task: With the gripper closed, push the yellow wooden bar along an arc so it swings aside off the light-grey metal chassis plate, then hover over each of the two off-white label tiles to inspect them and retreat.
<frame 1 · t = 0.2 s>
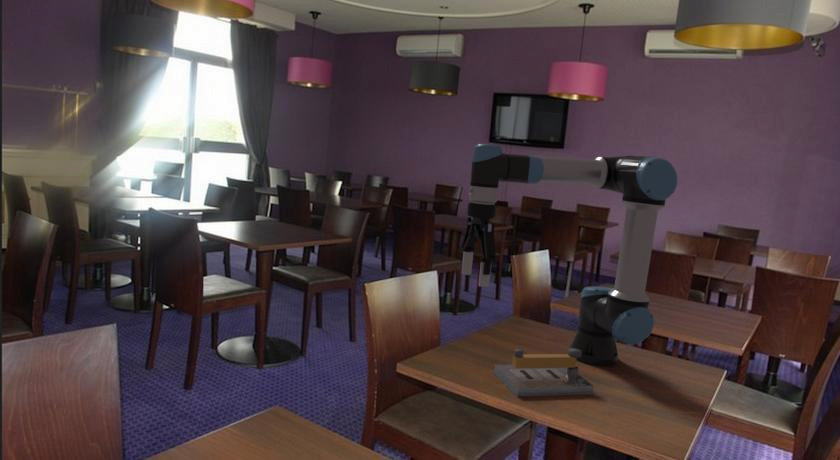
hand: (474, 280, 163), 27 cm above the table, fingers open, 13 cm apart
chassis: (541, 383, 166), on the table
yellow wooden bar: (547, 358, 165), point 7 cm above the table, hinge at 0.0°
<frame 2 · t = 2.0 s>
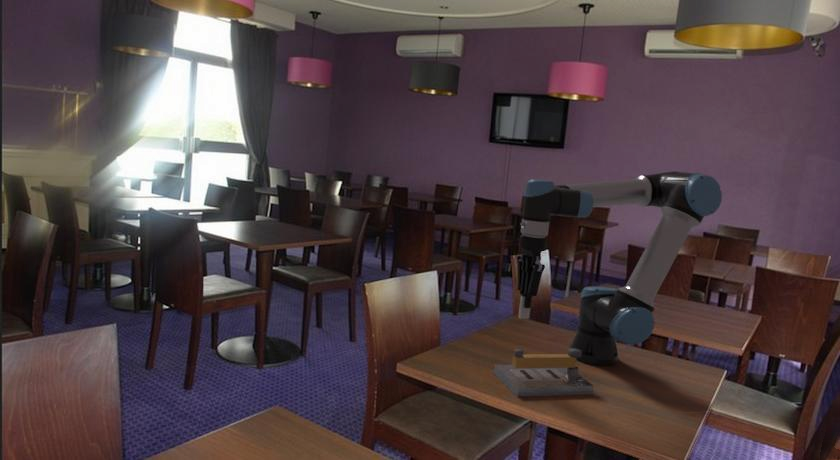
hand: (523, 318, 169), 17 cm above the table, fingers closed
nothing on the table moved.
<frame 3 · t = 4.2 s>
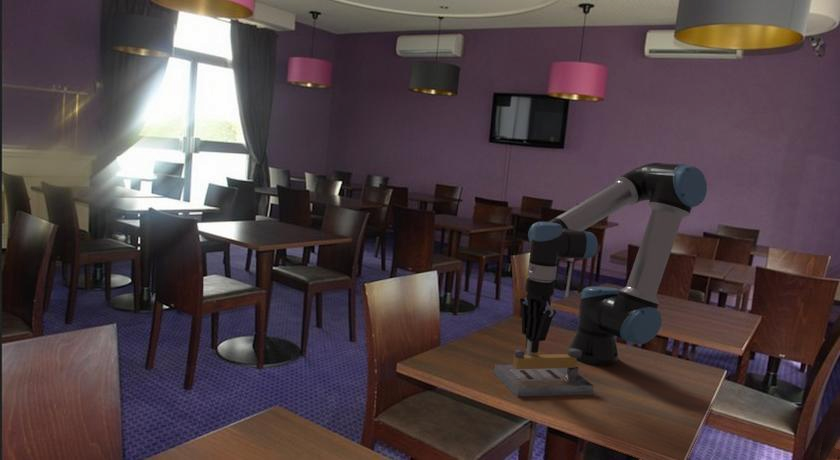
hand: (530, 362, 166), 6 cm above the table, fingers closed
yellow wooden bar: (547, 358, 165), point 7 cm above the table, hinge at 1.8°, touching gripper
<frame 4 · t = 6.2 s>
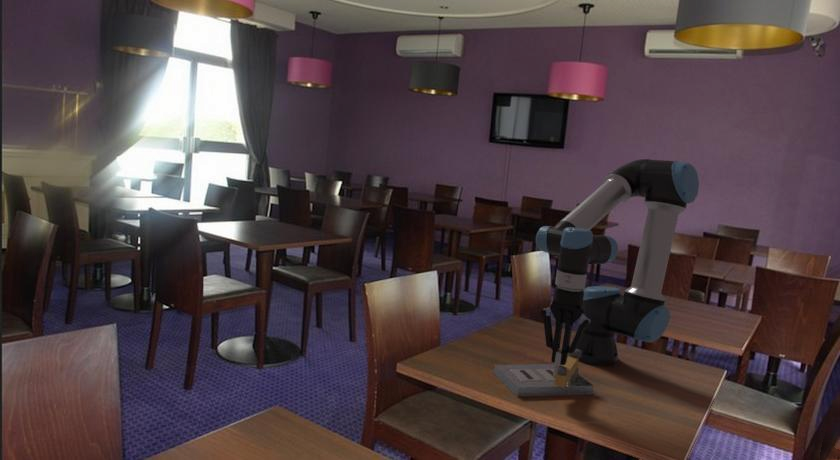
hand: (556, 375, 157), 6 cm above the table, fingers closed
yellow wooden bar: (568, 366, 160), point 7 cm above the table, hinge at 49.6°, touching gripper
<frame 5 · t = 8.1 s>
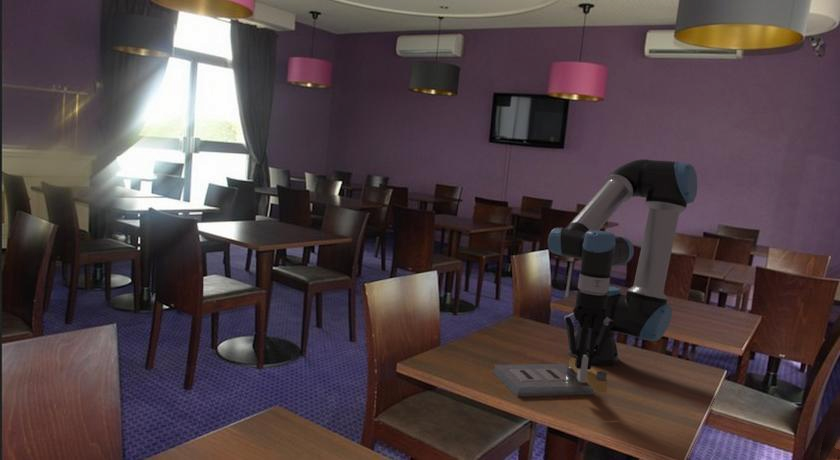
hand: (581, 380, 155), 6 cm above the table, fingers closed
yellow wooden bar: (586, 368, 159), point 7 cm above the table, hinge at 83.0°
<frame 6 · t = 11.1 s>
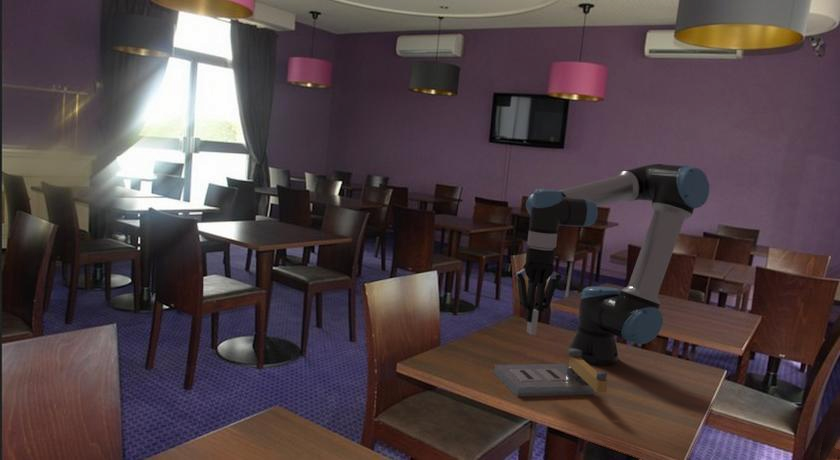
hand: (531, 333, 162), 14 cm above the table, fingers closed
nothing on the table moved.
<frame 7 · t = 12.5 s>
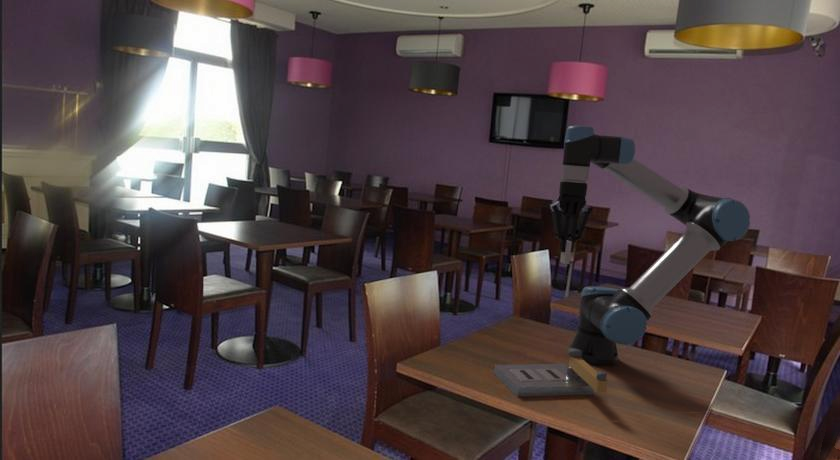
hand: (564, 263, 173), 32 cm above the table, fingers closed
nothing on the table moved.
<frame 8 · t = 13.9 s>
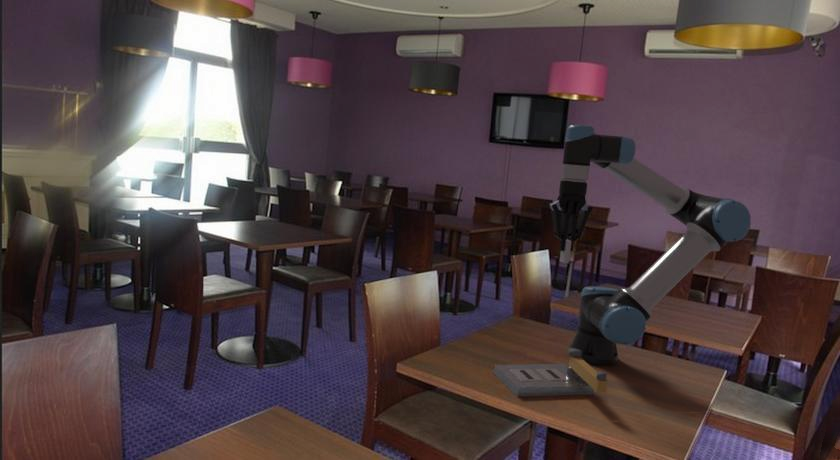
hand: (564, 262, 173), 32 cm above the table, fingers closed
nothing on the table moved.
at the end: yellow wooden bar at +83° (first picture: +0°) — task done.
